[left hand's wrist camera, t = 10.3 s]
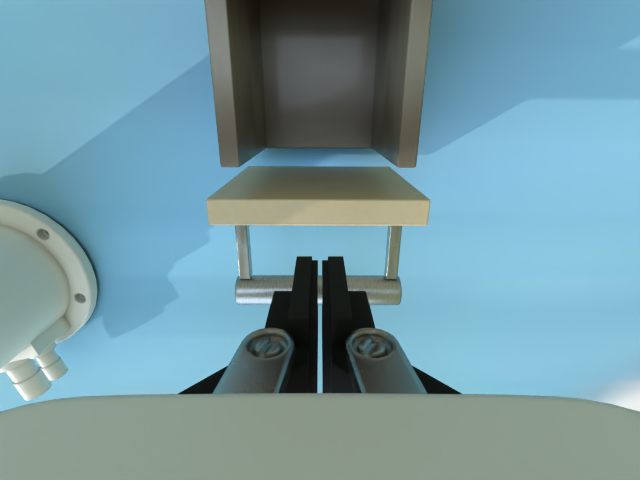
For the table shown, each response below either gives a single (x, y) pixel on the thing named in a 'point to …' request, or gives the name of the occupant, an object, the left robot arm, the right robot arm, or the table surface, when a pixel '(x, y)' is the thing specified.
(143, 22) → the table surface
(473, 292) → the table surface
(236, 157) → the drawer
